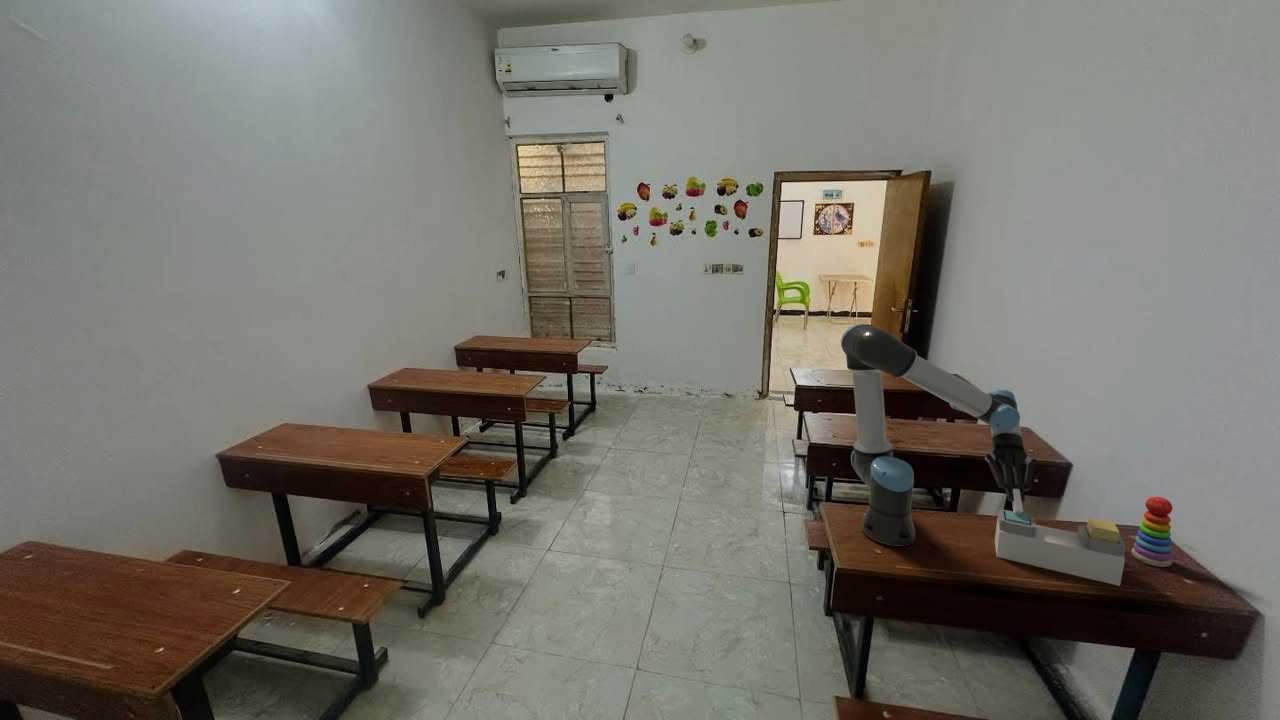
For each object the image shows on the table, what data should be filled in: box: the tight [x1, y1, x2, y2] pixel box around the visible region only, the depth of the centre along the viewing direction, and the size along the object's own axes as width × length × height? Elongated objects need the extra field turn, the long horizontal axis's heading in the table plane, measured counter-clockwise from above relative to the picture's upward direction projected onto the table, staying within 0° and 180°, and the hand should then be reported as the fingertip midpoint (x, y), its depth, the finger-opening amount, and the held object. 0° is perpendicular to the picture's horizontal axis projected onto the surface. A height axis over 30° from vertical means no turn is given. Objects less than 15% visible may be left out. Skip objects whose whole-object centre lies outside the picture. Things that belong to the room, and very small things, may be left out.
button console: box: [994, 509, 1127, 587], centre depth 136 cm, size 26×9×11 cm, turn 58°
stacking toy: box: [1130, 496, 1173, 568], centre depth 135 cm, size 8×8×19 cm
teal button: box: [1004, 509, 1030, 525], centre depth 140 cm, size 5×5×4 cm
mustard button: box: [1086, 517, 1120, 543], centre depth 130 cm, size 5×5×4 cm
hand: (1018, 512), depth 140 cm, fingers closed
